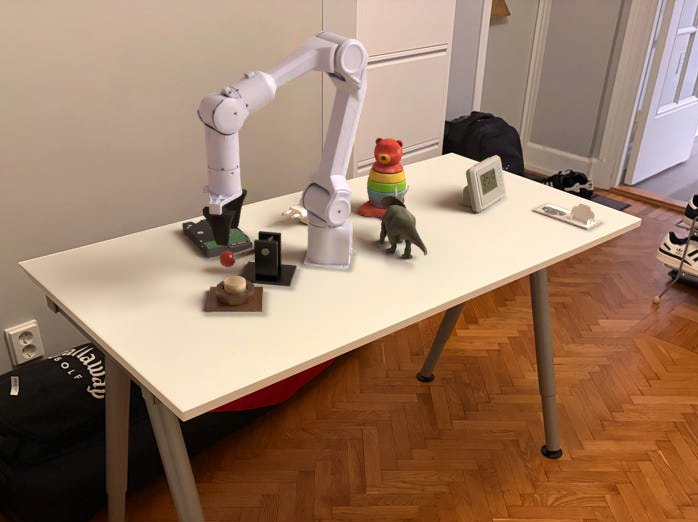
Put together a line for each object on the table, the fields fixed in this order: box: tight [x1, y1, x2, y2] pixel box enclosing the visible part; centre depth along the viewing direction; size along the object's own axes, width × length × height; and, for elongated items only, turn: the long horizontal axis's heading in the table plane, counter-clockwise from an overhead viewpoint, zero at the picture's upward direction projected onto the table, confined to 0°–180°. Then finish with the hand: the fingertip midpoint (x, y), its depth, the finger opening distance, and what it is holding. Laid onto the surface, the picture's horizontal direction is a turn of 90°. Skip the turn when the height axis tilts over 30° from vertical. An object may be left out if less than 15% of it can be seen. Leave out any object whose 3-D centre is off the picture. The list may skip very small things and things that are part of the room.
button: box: [223, 275, 246, 293], centre depth 133 cm, size 4×4×2 cm
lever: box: [218, 236, 275, 268], centre depth 142 cm, size 12×3×3 cm, turn 85°
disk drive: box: [181, 218, 253, 259], centre depth 156 cm, size 10×3×15 cm
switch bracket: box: [240, 230, 297, 287], centre depth 142 cm, size 10×8×9 cm
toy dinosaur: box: [375, 184, 428, 259], centre depth 156 cm, size 22×8×11 cm, turn 12°
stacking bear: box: [357, 137, 407, 219], centre depth 171 cm, size 11×10×18 cm
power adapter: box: [281, 198, 308, 225], centre depth 166 cm, size 11×5×6 cm, turn 137°
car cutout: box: [533, 202, 602, 231], centre depth 179 cm, size 15×7×4 cm, turn 47°
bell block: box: [206, 280, 264, 313], centre depth 134 cm, size 10×8×4 cm
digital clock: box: [461, 154, 507, 213], centre depth 182 cm, size 16×9×11 cm, turn 134°
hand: (227, 236), depth 135 cm, fingers open, 7 cm apart
